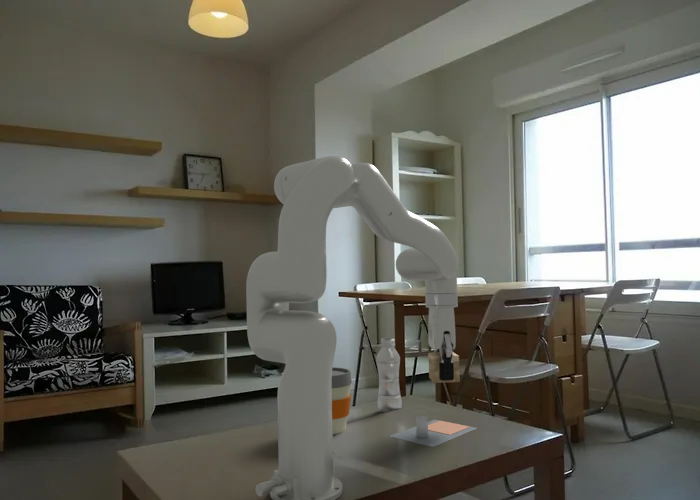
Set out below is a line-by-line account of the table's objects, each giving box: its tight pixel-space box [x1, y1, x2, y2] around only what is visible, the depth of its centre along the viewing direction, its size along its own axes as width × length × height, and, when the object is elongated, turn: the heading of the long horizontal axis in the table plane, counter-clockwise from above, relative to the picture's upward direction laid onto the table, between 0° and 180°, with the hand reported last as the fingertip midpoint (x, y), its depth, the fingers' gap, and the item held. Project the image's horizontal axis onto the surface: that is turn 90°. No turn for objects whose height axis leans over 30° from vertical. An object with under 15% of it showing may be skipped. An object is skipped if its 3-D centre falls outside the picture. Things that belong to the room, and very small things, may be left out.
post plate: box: [388, 415, 478, 448], centre depth 125 cm, size 18×12×6 cm, turn 136°
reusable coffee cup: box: [332, 366, 353, 435], centre depth 129 cm, size 12×13×15 cm
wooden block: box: [428, 351, 461, 384], centre depth 129 cm, size 6×6×6 cm
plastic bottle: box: [376, 337, 403, 413], centre depth 149 cm, size 6×7×20 cm
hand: (443, 376), depth 128 cm, fingers closed on wooden block, 6 cm apart
